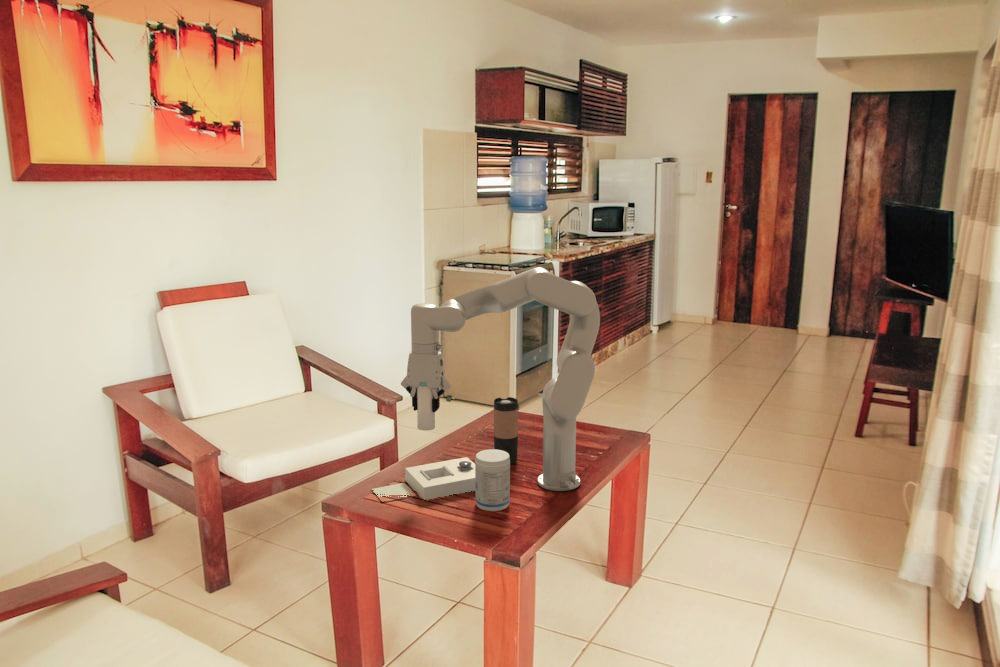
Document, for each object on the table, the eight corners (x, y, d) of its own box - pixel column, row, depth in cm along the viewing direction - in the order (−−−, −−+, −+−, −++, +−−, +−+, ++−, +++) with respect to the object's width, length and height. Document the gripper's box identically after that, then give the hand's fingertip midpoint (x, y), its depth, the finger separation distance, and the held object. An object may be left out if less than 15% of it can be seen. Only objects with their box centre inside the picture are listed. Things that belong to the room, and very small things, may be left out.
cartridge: (437, 425, 220) (437, 378, 217) (431, 431, 215) (431, 383, 212) (420, 424, 221) (420, 377, 218) (414, 429, 216) (413, 382, 213)
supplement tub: (474, 498, 214) (473, 449, 211) (508, 497, 215) (507, 447, 212) (476, 513, 204) (476, 462, 201) (511, 512, 205) (511, 460, 202)
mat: (415, 496, 215) (415, 495, 215) (381, 503, 211) (381, 502, 211) (404, 483, 224) (404, 482, 224) (371, 489, 220) (371, 488, 220)
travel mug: (508, 467, 237) (508, 405, 233) (489, 461, 241) (488, 401, 237) (522, 459, 243) (522, 399, 238) (503, 454, 247) (503, 395, 243)
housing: (488, 487, 221) (488, 474, 220) (424, 501, 212) (423, 486, 212) (466, 469, 235) (466, 456, 234) (405, 480, 226) (404, 467, 226)
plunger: (473, 479, 225) (473, 464, 224) (462, 481, 224) (461, 466, 223) (468, 475, 228) (468, 460, 228) (457, 477, 227) (457, 462, 226)
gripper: (458, 346, 214) (458, 408, 218) (401, 343, 218) (402, 403, 222) (449, 352, 207) (450, 416, 211) (391, 349, 211) (393, 411, 215)
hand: (425, 409), depth 217 cm, fingers closed on cartridge, 5 cm apart
